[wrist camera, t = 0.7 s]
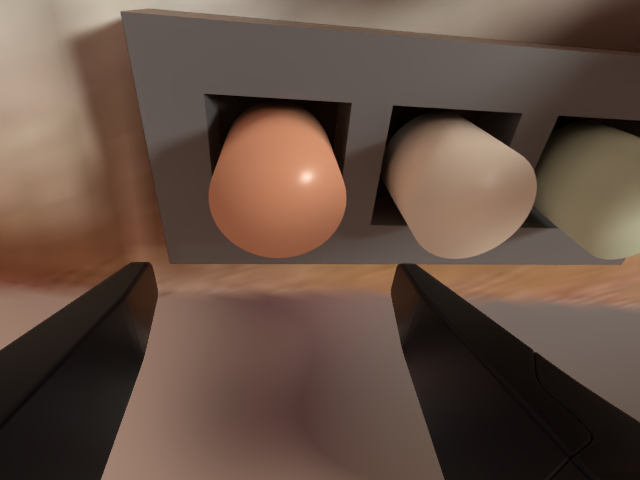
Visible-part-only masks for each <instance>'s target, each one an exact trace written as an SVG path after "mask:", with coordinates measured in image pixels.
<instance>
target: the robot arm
mask: <svg viewBox="0 0 640 480" xmlns="http://www.w3.org/2000/svg"><path fill="white" fill-rule="evenodd" d="M391 297H392V303H393V307H394V312H395V317H396V322H397V327H398V332H399V337H400V342H401V346H402V350H403V354H404V357H405V360H406V363H407V366H408V370H409V373H410V376H411V378H412V382H413V385H414V388H415V391H416V394H417V397H418V400H419V403H420V406H421V409H422V412H423V415H424V418H425V421H426V424H427V427H428V431H429V433H430V437H431V439H432V443H433V446H434V449H435V452H436V455H437V458H438V461H439V464H440V467H441V470H442V473H443V476H444V479H445V480H640V422H638V421H637V420H636V419H634V418H632V417H631V416H629V415H628V414H626V413H625V412H623V411H622V410H620V409H618V408H617V407H615V406H613V405H612V404H610V403H609V402H608V401H606V400H605V399H603V398H601V397H600V396H598V395H597V394H595V393H594V392H592V391H591V390H589V389H588V388H586V387H585V386H583V385H582V384H580V383H579V382H577V381H576V380H575V379H573V378H571V377H570V376H569V375H567V374H566V373H565V372H563V371H562V370H560V369H559V368H558V367H556V366H555V365H553V364H552V363H551V362H549V361H548V360H546V359H545V358H544V357H542V356H541V355H539V354H538V353H536V352H535V353H534V351H533V350H532V349H531V348H530V347H528V346H527V345H526V344H524V343H523V342H521V341H520V340H519V339H518V338H516V337H515V336H513V335H512V334H511V333H509V332H508V331H507V330H505V329H504V328H502V327H501V326H500V325H498V324H497V323H496V322H494V321H493V320H492V319H490V318H489V317H487V316H486V315H485V314H483V313H482V312H481V311H479V310H478V309H477V308H475V307H474V306H472V305H471V304H470V303H468V302H467V301H466V300H464V299H463V298H461V297H460V296H459V295H457V294H456V293H455V292H453V291H452V290H451V289H449V288H448V287H446V286H445V285H444V284H442V283H441V282H440V281H438V280H437V279H435V278H434V277H433V276H431V275H430V274H429V273H427V272H426V271H425V270H423V269H422V268H420V267H419V266H418V265H416V264H414V263H400V264H399V265H398V266H397V268H396V272H395V276H394V280H393V284H392V288H391ZM157 298H158V288H157V284H156V280H155V275H154V271H153V267H152V265H151V264H150V263H149V262H131V263H129V264H128V265H126V266H125V267H123V268H122V269H120V270H119V271H117V272H116V273H114V274H113V275H111V276H110V277H108V278H107V279H105V280H104V281H102V282H101V283H99V284H98V285H96V286H95V287H93V288H92V289H90V290H89V291H87V292H86V293H85V294H83V295H82V296H80V297H79V298H77V299H76V300H74V301H73V302H71V303H70V304H68V305H67V306H65V307H64V308H62V309H61V310H59V311H58V312H56V313H55V314H53V315H52V316H51V317H49V318H47V319H46V320H45V321H43V322H42V323H40V324H38V325H37V326H36V327H34V328H33V329H31V330H30V331H28V332H27V333H25V334H24V335H22V336H21V337H19V338H18V339H16V340H15V341H13V342H12V343H10V344H9V345H7V346H6V347H4V348H3V349H1V350H0V480H101V477H102V475H103V472H104V469H105V466H106V464H107V461H108V458H109V455H110V452H111V449H112V447H113V444H114V441H115V438H116V435H117V432H118V429H119V427H120V424H121V421H122V419H123V416H124V413H125V410H126V407H127V405H128V402H129V399H130V396H131V393H132V391H133V388H134V385H135V382H136V379H137V377H138V374H139V371H140V368H141V365H142V362H143V359H144V355H145V351H146V348H147V343H148V339H149V334H150V330H151V325H152V321H153V316H154V312H155V307H156V303H157Z"/></svg>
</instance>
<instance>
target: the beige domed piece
mask: <svg viewBox="0 0 640 480" xmlns="http://www.w3.org/2000/svg"><path fill="white" fill-rule="evenodd" d="M381 167H382V178H383V181H384V184H385V186H386V188H387V190H388V192H389V193H390V195H391V197H392V199H393V200H394V202H395V204H396V206H397V207H398V209H399V211H400V212H401V214H402V216H403V218H404V219H405V221H406V223H407V225H408V226H409V228H410V230H411V232H412V233H413V235H414V237H415V239H416V240H417V242H418V243H419V244H420V245H421V246H422V247H423V248H424V249H425V250H426V251H428V252H429V253H431V254H433V255H436V256H439V257H442V258H448V259H462V258H469V257H473V256H477V255H479V254H482V253H485V252H487V251H489V250H491V249H493V248H495V247H497V246H498V245H500V244H501V243H503V242H504V241H506V240H507V239H508V238H509V237H510V236H512V235H513V234H514V233H515V232H516V231H517V230H518V229H519V227H520V226H521V225H522V224H523V222H524V221H525V220H526V218H527V217H528V215H529V213H530V211H531V209H532V206H533V204H534V201H535V197H536V191H537V181H536V176H535V172H534V170H533V168H532V166H531V164H530V163H529V162H528V161H527V160H526V159H525V157H523V156H522V155H520V154H519V153H518V152H516V151H514V150H513V149H511V148H510V147H508V146H507V145H505V144H504V143H502V142H501V141H499V140H497V139H496V138H494V137H493V136H491V135H490V134H488V133H487V132H485V131H484V130H482V129H480V128H479V127H477V126H476V125H474V124H473V123H471V122H470V121H468V120H467V119H465V118H463V117H462V116H460V115H458V114H455V113H452V112H446V111H435V112H429V113H426V114H422V115H420V116H418V117H416V118H414V119H412V120H410V121H409V122H407V123H406V124H405V125H403V126H402V127H401V128H400V129H399V130H398V131H397V132H396V133H395V135H394V136H393V137H392V139H391V140H390V142H389V143H388V145H387V147H386V150H385V152H384V156H383V161H382V166H381Z"/></svg>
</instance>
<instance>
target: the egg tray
mask: <svg viewBox="0 0 640 480" xmlns="http://www.w3.org/2000/svg"><path fill="white" fill-rule="evenodd" d="M121 16H122V21H123V27H124V32H125V37H126V42H127V47H128V52H129V57H130V62H131V67H132V73H133V78H134V83H135V88H136V93H137V98H138V103H139V108H140V113H141V119H142V124H143V129H144V134H145V139H146V144H147V149H148V154H149V159H150V165H151V170H152V175H153V180H154V185H155V190H156V195H157V200H158V205H159V211H160V216H161V221H162V226H163V231H164V236H165V241H166V246H167V251H168V256H169V262H170V264H400V263H414V264H536V265H621V264H622V263H623V261H624V260H625V258H622V259H612V260H609V259H601V258H597V257H595V256H593V255H591V254H590V253H588V252H587V251H586V250H585V249H583V248H582V247H581V246H580V245H579V244H577V243H576V242H575V241H574V240H573V239H571V238H570V237H569V236H568V235H566V234H565V233H564V232H563V231H562V230H560V229H559V228H558V227H557V226H555V225H554V224H553V223H552V222H551V221H549V220H548V219H547V218H546V217H545V216H543V215H542V214H541V213H540V212H538V211H537V210H536V209H535V208H534V207H532V209H531V211H530V213H529V215H528V217H527V218H526V220H525V221H524V222H523V224H522V225H521V226H520V227H519V229H518V230H517V231H516V232H515V233H514V234H513V235H512V236H510V237H509V238H508V239H507V240H506V241H504V242H503V243H501V244H500V245H498V246H497V247H495V248H493V249H491V250H489V251H487V252H485V253H482V254H479V255H477V256H473V257H469V258H462V259H448V258H442V257H439V256H436V255H433V254H431V253H429V252H428V251H426V250H425V249H424V248H423V247H422V246H421V245H420V244H419V243H418V242H417V240H416V239H415V237H414V235H413V233H412V232H411V230H410V228H409V226H408V225H407V223H406V221H405V219H404V218H403V216H402V214H401V212H400V211H399V209H398V207H397V206H396V204H395V202H394V200H393V199H392V197H387V196H376V193H377V187H378V182H379V177H380V172H381V166H382V161H383V156H384V150H385V145H386V140H387V134H388V129H389V124H390V118H391V113H392V108H393V105H396V106H412V107H428V108H444V109H461V110H477V111H481V115H480V118H479V121H478V124H477V127H479V128H480V129H482V130H484V131H485V132H487V133H488V134H490V135H491V136H493V137H494V138H496V139H497V140H499V141H501V142H502V143H504V144H505V145H507V146H508V147H510V148H511V149H513V150H514V151H516V152H518V153H519V154H520V155H522V156H523V157H525V159H526V160H527V161H528V162H529V163H530V164H531V166H532V168H533V170H535V168H536V165H537V163H538V161H539V159H540V156H541V154H542V152H543V150H544V147H545V145H546V143H547V141H548V138H549V136H550V134H551V132H552V129H553V127H554V125H555V123H556V120H557V118H558V116H574V117H590V118H606V119H610V121H609V123H608V126H611V127H614V128H616V129H619V130H621V131H624V132H627V133H629V134H632V135H634V136H637V137H639V138H640V53H638V52H626V51H615V50H604V49H593V48H582V47H571V46H559V45H548V44H537V43H526V42H515V41H504V40H493V39H481V38H470V37H459V36H448V35H437V34H426V33H414V32H403V31H392V30H381V29H370V28H359V27H347V26H336V25H325V24H314V23H303V22H292V21H280V20H269V19H258V18H247V17H236V16H225V15H213V14H202V13H191V12H180V11H169V10H158V9H141V10H130V11H121ZM217 95H234V96H250V97H266V98H282V99H298V100H315V101H331V102H339V104H338V113H337V122H336V132H335V141H334V151H333V153H334V156H335V158H336V161H337V164H338V167H339V169H340V172H341V175H342V178H343V180H344V184H345V188H346V208H345V212H344V215H343V218H342V221H341V222H340V224H339V226H338V228H337V229H336V231H335V232H334V233H333V234H332V236H331V237H330V238H329V239H328V240H326V241H325V242H324V243H323V244H322V245H320V246H319V247H317V248H315V249H313V250H311V251H309V252H307V253H304V254H302V255H298V256H294V257H288V258H269V257H263V256H259V255H255V254H252V253H250V252H247V251H245V250H243V249H241V248H239V247H238V246H236V245H235V244H233V243H232V242H231V241H230V240H229V239H228V238H226V236H225V235H224V234H223V233H222V232H221V231H220V229H219V228H218V226H217V225H216V223H215V221H214V219H213V217H212V214H211V211H210V206H209V187H210V183H211V179H212V176H213V173H214V170H215V168H216V165H217V162H218V159H219V157H220V154H221V140H220V127H219V114H218V101H217Z"/></svg>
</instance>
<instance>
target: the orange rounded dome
mask: <svg viewBox="0 0 640 480" xmlns="http://www.w3.org/2000/svg"><path fill="white" fill-rule="evenodd" d="M209 206H210V211H211V214H212V217H213V219H214V221H215V223H216V225H217V226H218V228H219V229H220V231H221V232H222V233H223V234H224V235H225V236H226V238H228V239H229V240H230V241H231V242H232V243H233V244H235V245H236V246H238V247H239V248H241V249H243V250H245V251H247V252H250V253H252V254H255V255H259V256H263V257H269V258H288V257H294V256H298V255H302V254H304V253H307V252H309V251H311V250H313V249H315V248H317V247H319V246H320V245H322V244H323V243H324V242H325V241H326V240H328V239H329V238H330V237H331V236H332V234H333V233H334V232H335V231H336V229H337V228H338V226H339V224H340V222H341V221H342V218H343V215H344V212H345V208H346V188H345V184H344V180H343V178H342V175H341V172H340V169H339V167H338V164H337V161H336V158H335V156H334V153H333V150H332V147H331V145H330V142H329V139H328V136H327V134H326V132H325V130H324V128H323V126H322V125H321V123H320V122H319V121H318V120H317V119H316V118H315V117H314V116H313V115H312V114H311V113H310V112H308V111H307V110H305V109H304V108H302V107H300V106H298V105H295V104H292V103H288V102H282V101H270V102H264V103H261V104H257V105H255V106H253V107H251V108H249V109H247V110H246V111H244V112H243V113H242V114H241V115H240V116H239V117H238V118H237V119H236V120H235V121H234V123H233V124H232V126H231V128H230V130H229V132H228V134H227V137H226V140H225V143H224V145H223V148H222V151H221V154H220V157H219V159H218V162H217V165H216V168H215V170H214V173H213V176H212V179H211V183H210V187H209Z"/></svg>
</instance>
